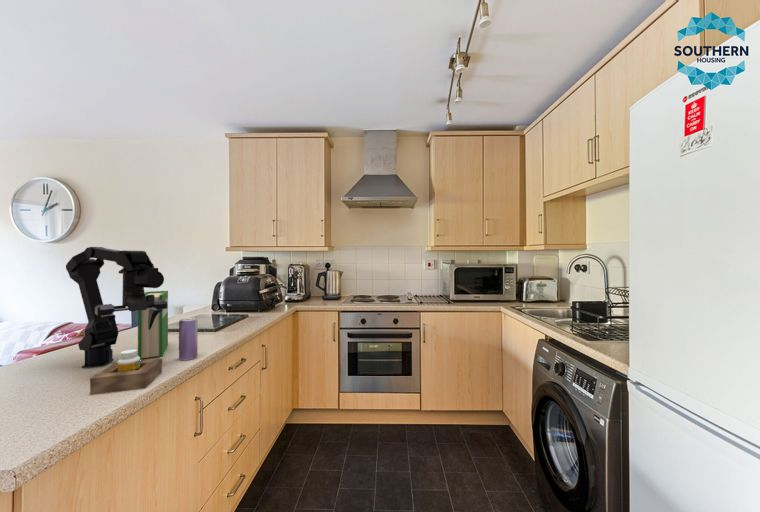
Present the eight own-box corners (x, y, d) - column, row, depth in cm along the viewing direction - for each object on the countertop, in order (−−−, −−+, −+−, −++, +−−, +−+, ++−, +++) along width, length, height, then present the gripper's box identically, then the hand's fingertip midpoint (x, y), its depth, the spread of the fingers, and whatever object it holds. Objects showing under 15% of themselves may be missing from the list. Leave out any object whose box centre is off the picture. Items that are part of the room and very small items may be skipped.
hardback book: (162, 357, 115) (162, 295, 115) (137, 360, 111) (137, 296, 111) (167, 345, 130) (168, 290, 130) (146, 348, 127) (146, 291, 127)
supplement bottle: (121, 380, 94) (121, 349, 94) (142, 377, 96) (142, 347, 96) (115, 387, 89) (114, 354, 89) (137, 383, 91) (137, 352, 91)
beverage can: (188, 361, 111) (188, 320, 111) (174, 360, 112) (175, 320, 112) (201, 356, 117) (201, 317, 117) (188, 355, 118) (188, 317, 118)
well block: (90, 394, 84) (90, 378, 84) (114, 376, 96) (114, 362, 96) (145, 388, 88) (145, 372, 88) (161, 371, 101) (161, 358, 101)
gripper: (101, 291, 91) (100, 342, 91) (172, 286, 105) (172, 331, 105) (94, 288, 98) (94, 335, 98) (162, 284, 112) (162, 325, 112)
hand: (132, 332), depth 103 cm, fingers open, 9 cm apart
